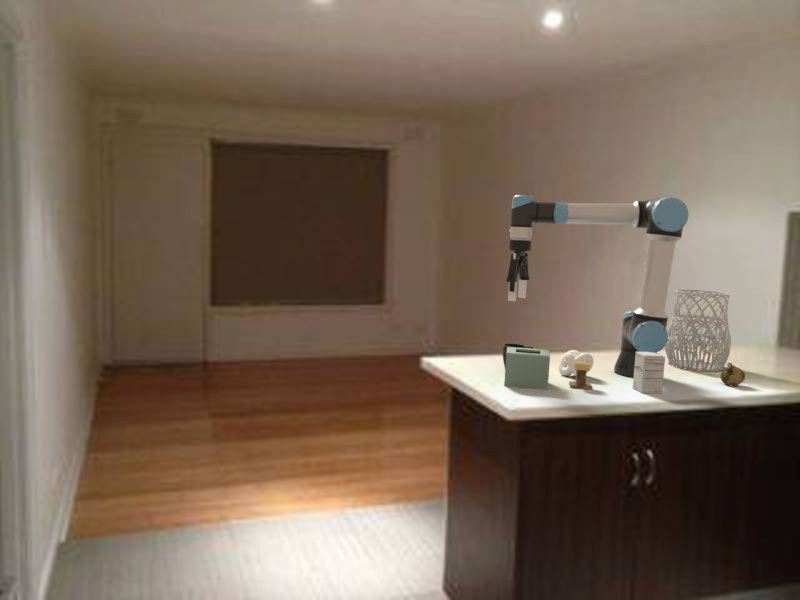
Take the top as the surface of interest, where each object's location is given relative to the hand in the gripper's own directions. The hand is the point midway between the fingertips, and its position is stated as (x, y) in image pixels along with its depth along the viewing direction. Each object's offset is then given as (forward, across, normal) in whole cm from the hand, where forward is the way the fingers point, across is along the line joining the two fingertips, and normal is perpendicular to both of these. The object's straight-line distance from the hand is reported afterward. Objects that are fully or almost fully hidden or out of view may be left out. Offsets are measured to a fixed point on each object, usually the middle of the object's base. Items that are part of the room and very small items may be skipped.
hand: (517, 299), depth 266 cm
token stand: (+26, +9, +26) cm, 38 cm away
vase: (+27, -59, +59) cm, 88 cm away
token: (+20, +9, +26) cm, 34 cm away
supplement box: (+27, +2, +46) cm, 54 cm away
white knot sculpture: (+27, -6, +21) cm, 34 cm away
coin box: (+26, +16, +9) cm, 32 cm away
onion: (+27, -28, +72) cm, 82 cm away
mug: (+26, -3, +1) cm, 27 cm away
